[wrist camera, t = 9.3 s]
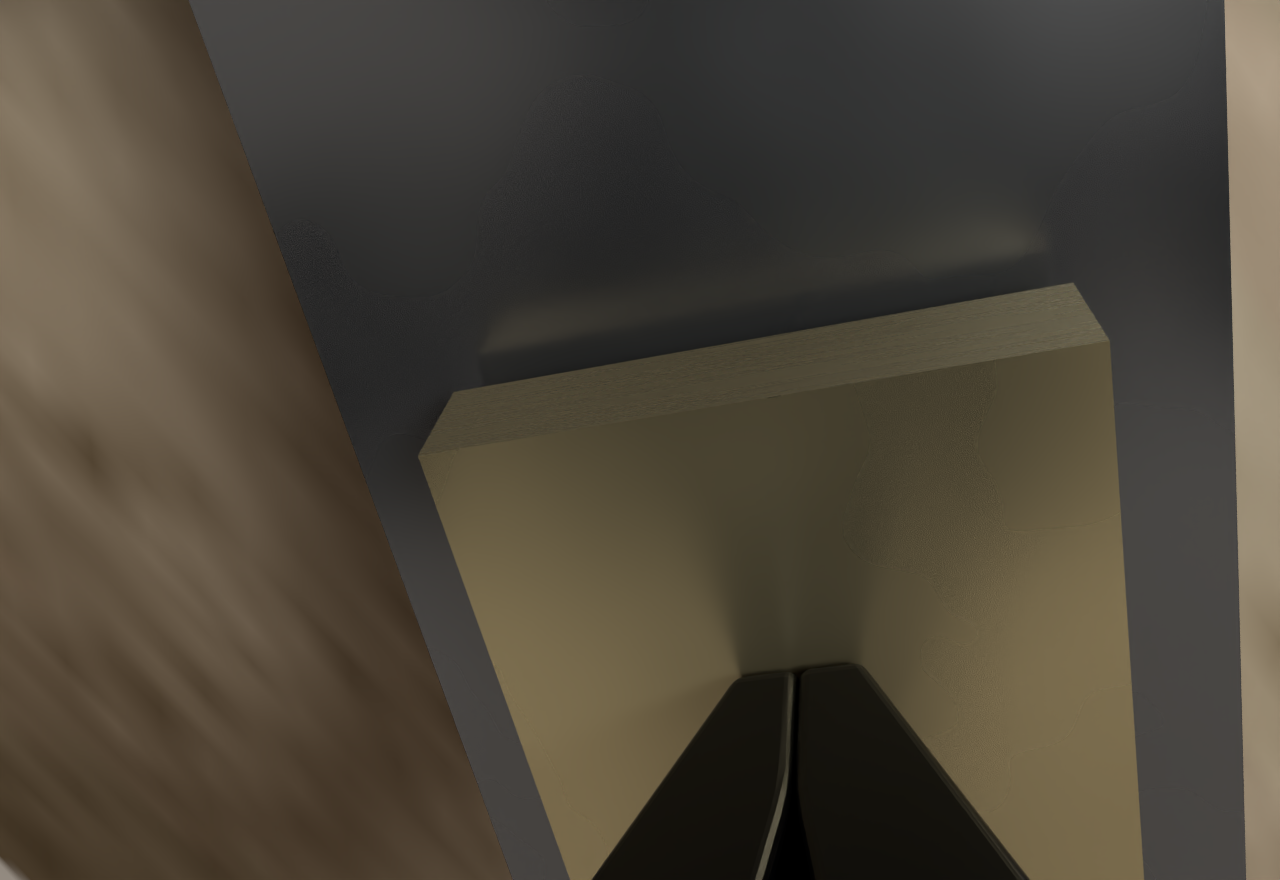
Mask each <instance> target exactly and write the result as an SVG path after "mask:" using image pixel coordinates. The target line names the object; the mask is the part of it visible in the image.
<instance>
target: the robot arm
mask: <svg viewBox="0 0 1280 880" xmlns="http://www.w3.org/2000/svg"><path fill="white" fill-rule="evenodd" d="M592 880H1030V879H1029V877H1028V876H1027V875H1026V874H1025V872H1024V871H1023V870H1022V868H1021V867H1020V866H1019V865H1018V863H1017V862H1016V861H1015V859H1014V858H1013V857H1012V856H1011V854H1010V853H1009V852H1008V850H1007V849H1006V848H1005V847H1004V845H1003V844H1002V843H1001V841H1000V840H999V839H998V838H997V836H996V835H995V834H994V832H993V831H992V830H991V829H990V827H989V826H988V825H987V823H986V822H985V821H984V820H983V818H982V817H981V816H980V814H979V813H978V812H977V811H976V809H975V808H974V807H973V805H972V804H971V803H970V802H969V800H968V799H967V798H966V796H965V795H964V794H963V792H962V791H961V790H960V789H959V787H958V786H957V785H956V783H955V782H954V781H953V780H952V778H951V777H950V776H949V774H948V773H947V772H946V771H945V769H944V768H943V767H942V765H941V764H940V763H939V762H938V760H937V759H936V758H935V756H934V755H933V754H932V753H931V751H930V750H929V749H928V747H927V746H926V745H925V744H924V742H923V741H922V740H921V738H920V737H919V736H918V735H917V733H916V732H915V731H914V729H913V728H912V727H911V726H910V724H909V723H908V722H907V720H906V719H905V718H904V717H903V715H902V714H901V713H900V711H899V710H898V709H897V707H896V706H895V705H894V704H893V702H892V701H891V700H890V698H889V697H888V696H887V695H886V693H885V692H884V691H883V689H882V688H881V687H880V686H879V684H878V683H877V682H876V680H875V679H874V678H873V677H872V675H871V674H870V673H869V672H868V670H867V669H866V668H864V667H863V666H862V665H859V664H846V665H838V666H830V667H821V668H813V669H808V670H806V671H805V672H804V673H803V674H802V675H801V677H800V679H798V677H797V676H796V675H795V674H793V673H791V672H780V673H772V674H764V675H755V676H747V677H742V678H738V679H737V680H736V681H734V682H733V683H732V684H731V685H730V687H729V688H728V689H727V691H726V692H725V694H724V695H723V696H722V698H721V699H720V701H719V702H718V703H717V705H716V706H715V708H714V709H713V710H712V712H711V713H710V715H709V716H708V717H707V719H706V720H705V722H704V723H703V724H702V726H701V727H700V729H699V730H698V731H697V733H696V734H695V736H694V737H693V738H692V740H691V741H690V743H689V744H688V745H687V747H686V748H685V750H684V751H683V752H682V754H681V755H680V757H679V758H678V759H677V761H676V762H675V764H674V765H673V766H672V768H671V769H670V771H669V772H668V773H667V775H666V776H665V778H664V779H663V780H662V782H661V783H660V785H659V786H658V787H657V789H656V790H655V792H654V793H653V794H652V796H651V797H650V799H649V800H648V801H647V803H646V804H645V806H644V807H643V808H642V810H641V811H640V812H639V814H638V815H637V817H636V818H635V819H634V821H633V822H632V824H631V825H630V826H629V828H628V829H627V831H626V832H625V833H624V835H623V836H622V838H621V839H620V840H619V842H618V843H617V845H616V846H615V847H614V849H613V850H612V852H611V853H610V854H609V856H608V857H607V859H606V860H605V861H604V863H603V864H602V866H601V867H600V868H599V870H598V871H597V873H596V874H595V875H594V877H593V878H592Z"/></svg>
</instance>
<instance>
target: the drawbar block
mask: <svg viewBox="0 0 1280 880" xmlns="http://www.w3.org/2000/svg"><path fill="white" fill-rule="evenodd" d="M189 3H190V5H191V8H192V11H193V13H194V16H195V19H196V22H197V24H198V27H199V30H200V32H201V35H202V38H203V41H204V43H205V46H206V49H207V51H208V54H209V57H210V60H211V62H212V65H213V68H214V70H215V73H216V76H217V79H218V81H219V84H220V87H221V89H222V92H223V95H224V98H225V100H226V103H227V106H228V108H229V111H230V114H231V117H232V119H233V122H234V125H235V127H236V130H237V133H238V136H239V138H240V141H241V144H242V146H243V149H244V152H245V155H246V157H247V160H248V163H249V165H250V168H251V171H252V174H253V176H254V179H255V182H256V184H257V187H258V190H259V193H260V195H261V198H262V201H263V203H264V206H265V209H266V212H267V214H268V217H269V220H270V222H271V225H272V228H273V231H274V233H275V236H276V239H277V241H278V244H279V247H280V249H281V252H282V255H283V258H284V260H285V263H286V266H287V268H288V271H289V274H290V277H291V279H292V282H293V285H294V287H295V290H296V293H297V296H298V298H299V301H300V304H301V306H302V309H303V312H304V315H305V317H306V320H307V323H308V325H309V328H310V331H311V334H312V336H313V339H314V342H315V344H316V347H317V350H318V353H319V355H320V358H321V361H322V363H323V366H324V369H325V372H326V374H327V377H328V380H329V382H330V385H331V388H332V391H333V393H334V396H335V399H336V401H337V404H338V407H339V410H340V412H341V415H342V418H343V420H344V423H345V426H346V429H347V431H348V434H349V437H350V439H351V442H352V445H353V448H354V450H355V453H356V456H357V458H358V461H359V464H360V467H361V469H362V472H363V475H364V477H365V480H366V483H367V485H368V488H369V491H370V494H371V496H372V499H373V502H374V504H375V507H376V510H377V513H378V515H379V518H380V521H381V523H382V526H383V529H384V532H385V534H386V537H387V540H388V542H389V545H390V548H391V551H392V553H393V556H394V559H395V561H396V564H397V567H398V570H399V572H400V575H401V578H402V580H403V583H404V586H405V589H406V591H407V594H408V597H409V599H410V602H411V605H412V608H413V610H414V613H415V616H416V618H417V621H418V624H419V627H420V629H421V632H422V635H423V637H424V640H425V643H426V646H427V648H428V651H429V654H430V656H431V659H432V662H433V665H434V667H435V670H436V673H437V675H438V678H439V681H440V684H441V686H442V689H443V692H444V694H445V697H446V700H447V702H448V705H449V708H450V711H451V713H452V716H453V719H454V721H455V724H456V727H457V730H458V732H459V735H460V738H461V740H462V743H463V746H464V749H465V751H466V754H467V757H468V759H469V762H470V765H471V768H472V770H473V773H474V776H475V778H476V781H477V784H478V787H479V789H480V792H481V795H482V797H483V800H484V803H485V806H486V808H487V811H488V814H489V816H490V819H491V822H492V825H493V827H494V830H495V833H496V835H497V838H498V841H499V844H500V846H501V849H502V852H503V854H504V857H505V860H506V863H507V865H508V868H509V871H510V873H511V876H512V879H513V880H570V878H569V875H568V872H567V870H566V867H565V864H564V861H563V858H562V856H561V853H560V850H559V847H558V845H557V842H556V839H555V836H554V833H553V831H552V828H551V825H550V822H549V819H548V817H547V814H546V811H545V808H544V806H543V803H542V800H541V797H540V794H539V792H538V789H537V786H536V783H535V780H534V778H533V775H532V772H531V769H530V767H529V764H528V761H527V758H526V755H525V753H524V750H523V747H522V744H521V742H520V739H519V736H518V733H517V730H516V728H515V725H514V722H513V719H512V716H511V714H510V711H509V708H508V705H507V703H506V700H505V697H504V694H503V691H502V689H501V686H500V683H499V680H498V678H497V675H496V672H495V669H494V666H493V664H492V661H491V658H490V655H489V652H488V650H487V647H486V644H485V641H484V639H483V636H482V633H481V630H480V627H479V625H478V622H477V619H476V616H475V614H474V611H473V608H472V605H471V602H470V600H469V597H468V594H467V591H466V588H465V586H464V583H463V580H462V577H461V575H460V572H459V569H458V566H457V563H456V561H455V558H454V555H453V552H452V550H451V547H450V544H449V541H448V538H447V536H446V533H445V530H444V527H443V524H442V522H441V519H440V516H439V513H438V511H437V508H436V505H435V502H434V499H433V497H432V494H431V491H430V488H429V486H428V483H427V480H426V477H425V474H424V472H423V469H422V466H421V463H420V460H419V458H418V455H419V453H420V451H421V449H422V448H423V446H424V444H425V442H426V440H427V439H428V437H429V435H430V433H431V432H432V430H433V428H434V426H435V424H436V423H437V421H438V419H439V417H440V416H441V414H442V412H443V410H444V408H445V407H446V405H447V403H448V401H449V399H450V398H451V396H452V394H453V392H457V391H462V390H468V389H474V388H479V387H485V386H491V385H496V384H502V383H508V382H513V381H519V380H525V379H530V378H536V377H541V376H547V375H553V374H558V373H564V372H570V371H575V370H581V369H587V368H592V367H598V366H604V365H609V364H615V363H621V362H626V361H632V360H638V359H643V358H649V357H655V356H660V355H666V354H671V353H677V352H683V351H688V350H694V349H700V348H705V347H711V346H717V345H722V344H728V343H734V342H739V341H745V340H751V339H756V338H762V337H768V336H773V335H779V334H785V333H790V332H796V331H801V330H807V329H813V328H818V327H824V326H830V325H835V324H841V323H847V322H852V321H858V320H864V319H869V318H875V317H881V316H886V315H892V314H898V313H903V312H909V311H915V310H920V309H926V308H931V307H937V306H943V305H948V304H954V303H960V302H965V301H971V300H977V299H982V298H988V297H994V296H999V295H1005V294H1011V293H1016V292H1022V291H1028V290H1033V289H1039V288H1045V287H1050V286H1056V285H1061V284H1067V283H1074V285H1075V286H1076V288H1077V290H1078V291H1079V293H1080V294H1081V296H1082V297H1083V299H1084V301H1085V302H1086V304H1087V305H1088V307H1089V308H1090V310H1091V312H1092V313H1093V315H1094V316H1095V318H1096V320H1097V321H1098V323H1099V324H1100V326H1101V327H1102V329H1103V331H1104V332H1105V334H1106V335H1107V337H1108V339H1109V340H1110V352H1111V368H1112V384H1113V399H1114V415H1115V431H1116V447H1117V462H1118V478H1119V494H1120V509H1121V525H1122V541H1123V556H1124V572H1125V588H1126V604H1127V619H1128V635H1129V651H1130V666H1131V682H1132V698H1133V713H1134V729H1135V745H1136V761H1137V776H1138V792H1139V808H1140V823H1141V839H1142V855H1143V870H1144V880H1246V860H1245V820H1244V779H1243V739H1242V699H1241V658H1240V618H1239V578H1238V537H1237V497H1236V457H1235V417H1234V376H1233V336H1232V296H1231V255H1230V215H1229V175H1228V134H1227V94H1226V54H1225V13H1224V0H189Z"/></svg>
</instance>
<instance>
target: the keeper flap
mask: <svg viewBox="0 0 1280 880" xmlns="http://www.w3.org/2000/svg"><path fill="white" fill-rule="evenodd" d="M418 458H419V460H420V463H421V466H422V469H423V472H424V474H425V477H426V480H427V483H428V486H429V488H430V491H431V494H432V497H433V499H434V502H435V505H436V508H437V511H438V513H439V516H440V519H441V522H442V524H443V527H444V530H445V533H446V536H447V538H448V541H449V544H450V547H451V550H452V552H453V555H454V558H455V561H456V563H457V566H458V569H459V572H460V575H461V577H462V580H463V583H464V586H465V588H466V591H467V594H468V597H469V600H470V602H471V605H472V608H473V611H474V614H475V616H476V619H477V622H478V625H479V627H480V630H481V633H482V636H483V639H484V641H485V644H486V647H487V650H488V652H489V655H490V658H491V661H492V664H493V666H494V669H495V672H496V675H497V678H498V680H499V683H500V686H501V689H502V691H503V694H504V697H505V700H506V703H507V705H508V708H509V711H510V714H511V716H512V719H513V722H514V725H515V728H516V730H517V733H518V736H519V739H520V742H521V744H522V747H523V750H524V753H525V755H526V758H527V761H528V764H529V767H530V769H531V772H532V775H533V778H534V780H535V783H536V786H537V789H538V792H539V794H540V797H541V800H542V803H543V806H544V808H545V811H546V814H547V817H548V819H549V822H550V825H551V828H552V831H553V833H554V836H555V839H556V842H557V845H558V847H559V850H560V853H561V856H562V858H563V861H564V864H565V867H566V870H567V872H568V875H569V878H570V880H592V878H593V877H594V875H595V874H596V873H597V871H598V870H599V868H600V867H601V866H602V864H603V863H604V861H605V860H606V859H607V857H608V856H609V854H610V853H611V852H612V850H613V849H614V847H615V846H616V845H617V843H618V842H619V840H620V839H621V838H622V836H623V835H624V833H625V832H626V831H627V829H628V828H629V826H630V825H631V824H632V822H633V821H634V819H635V818H636V817H637V815H638V814H639V812H640V811H641V810H642V808H643V807H644V806H645V804H646V803H647V801H648V800H649V799H650V797H651V796H652V794H653V793H654V792H655V790H656V789H657V787H658V786H659V785H660V783H661V782H662V780H663V779H664V778H665V776H666V775H667V773H668V772H669V771H670V769H671V768H672V766H673V765H674V764H675V762H676V761H677V759H678V758H679V757H680V755H681V754H682V752H683V751H684V750H685V748H686V747H687V745H688V744H689V743H690V741H691V740H692V738H693V737H694V736H695V734H696V733H697V731H698V730H699V729H700V727H701V726H702V724H703V723H704V722H705V720H706V719H707V717H708V716H709V715H710V713H711V712H712V710H713V709H714V708H715V706H716V705H717V703H718V702H719V701H720V699H721V698H722V696H723V695H724V694H725V692H726V691H727V689H728V688H729V687H730V685H731V684H732V683H733V682H734V681H736V680H737V679H738V678H742V677H747V676H755V675H764V674H772V673H780V672H791V673H793V674H795V675H796V676H797V677H798V679H800V677H801V675H802V674H803V673H804V672H805V671H806V670H808V669H813V668H821V667H830V666H838V665H846V664H859V665H862V666H863V667H864V668H866V669H867V670H868V672H869V673H870V674H871V675H872V677H873V678H874V679H875V680H876V682H877V683H878V684H879V686H880V687H881V688H882V689H883V691H884V692H885V693H886V695H887V696H888V697H889V698H890V700H891V701H892V702H893V704H894V705H895V706H896V707H897V709H898V710H899V711H900V713H901V714H902V715H903V717H904V718H905V719H906V720H907V722H908V723H909V724H910V726H911V727H912V728H913V729H914V731H915V732H916V733H917V735H918V736H919V737H920V738H921V740H922V741H923V742H924V744H925V745H926V746H927V747H928V749H929V750H930V751H931V753H932V754H933V755H934V756H935V758H936V759H937V760H938V762H939V763H940V764H941V765H942V767H943V768H944V769H945V771H946V772H947V773H948V774H949V776H950V777H951V778H952V780H953V781H954V782H955V783H956V785H957V786H958V787H959V789H960V790H961V791H962V792H963V794H964V795H965V796H966V798H967V799H968V800H969V802H970V803H971V804H972V805H973V807H974V808H975V809H976V811H977V812H978V813H979V814H980V816H981V817H982V818H983V820H984V821H985V822H986V823H987V825H988V826H989V827H990V829H991V830H992V831H993V832H994V834H995V835H996V836H997V838H998V839H999V840H1000V841H1001V843H1002V844H1003V845H1004V847H1005V848H1006V849H1007V850H1008V852H1009V853H1010V854H1011V856H1012V857H1013V858H1014V859H1015V861H1016V862H1017V863H1018V865H1019V866H1020V867H1021V868H1022V870H1023V871H1024V872H1025V874H1026V875H1027V876H1028V877H1029V879H1030V880H1144V870H1143V855H1142V839H1141V823H1140V808H1139V792H1138V776H1137V761H1136V745H1135V729H1134V713H1133V698H1132V682H1131V666H1130V651H1129V635H1128V619H1127V604H1126V588H1125V572H1124V556H1123V541H1122V525H1121V509H1120V494H1119V478H1118V462H1117V447H1116V431H1115V415H1114V399H1113V384H1112V368H1111V352H1110V340H1109V339H1108V337H1107V335H1106V334H1105V332H1104V331H1103V329H1102V327H1101V326H1100V324H1099V323H1098V321H1097V320H1096V318H1095V316H1094V315H1093V313H1092V312H1091V310H1090V308H1089V307H1088V305H1087V304H1086V302H1085V301H1084V299H1083V297H1082V296H1081V294H1080V293H1079V291H1078V290H1077V288H1076V286H1075V285H1074V283H1067V284H1061V285H1056V286H1050V287H1045V288H1039V289H1033V290H1028V291H1022V292H1016V293H1011V294H1005V295H999V296H994V297H988V298H982V299H977V300H971V301H965V302H960V303H954V304H948V305H943V306H937V307H931V308H926V309H920V310H915V311H909V312H903V313H898V314H892V315H886V316H881V317H875V318H869V319H864V320H858V321H852V322H847V323H841V324H835V325H830V326H824V327H818V328H813V329H807V330H801V331H796V332H790V333H785V334H779V335H773V336H768V337H762V338H756V339H751V340H745V341H739V342H734V343H728V344H722V345H717V346H711V347H705V348H700V349H694V350H688V351H683V352H677V353H671V354H666V355H660V356H655V357H649V358H643V359H638V360H632V361H626V362H621V363H615V364H609V365H604V366H598V367H592V368H587V369H581V370H575V371H570V372H564V373H558V374H553V375H547V376H541V377H536V378H530V379H525V380H519V381H513V382H508V383H502V384H496V385H491V386H485V387H479V388H474V389H468V390H462V391H457V392H453V394H452V396H451V398H450V399H449V401H448V403H447V405H446V407H445V408H444V410H443V412H442V414H441V416H440V417H439V419H438V421H437V423H436V424H435V426H434V428H433V430H432V432H431V433H430V435H429V437H428V439H427V440H426V442H425V444H424V446H423V448H422V449H421V451H420V453H419V455H418Z"/></svg>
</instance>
